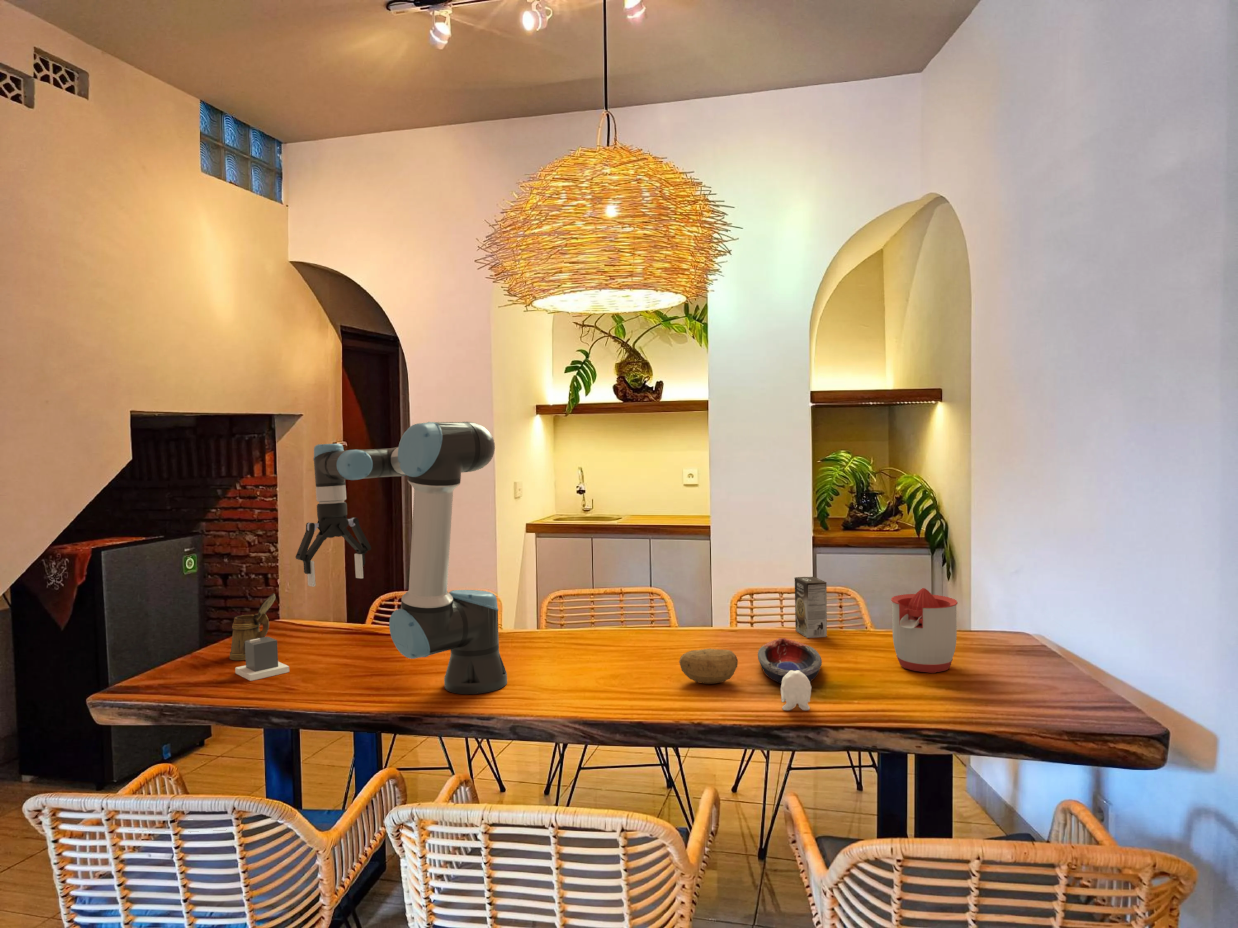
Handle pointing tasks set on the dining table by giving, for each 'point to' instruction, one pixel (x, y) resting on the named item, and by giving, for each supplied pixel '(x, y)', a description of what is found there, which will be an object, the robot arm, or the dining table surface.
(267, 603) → the wooden mug
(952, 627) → the citrus juicer
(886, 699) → the dining table surface
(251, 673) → the white peg base
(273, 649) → the grey rectangular block
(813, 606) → the coffee box
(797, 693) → the penguin figurine
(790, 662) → the dish
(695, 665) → the potato
